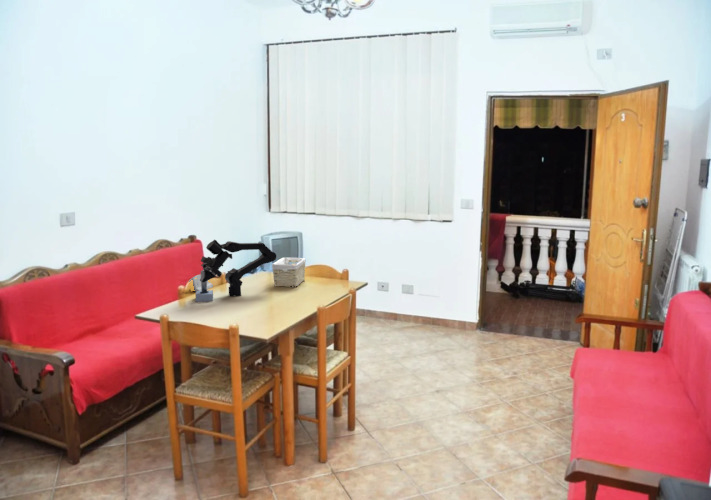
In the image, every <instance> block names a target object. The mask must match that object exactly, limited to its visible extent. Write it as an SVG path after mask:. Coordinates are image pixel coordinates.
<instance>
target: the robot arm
mask: <svg viewBox="0 0 711 500" xmlns="http://www.w3.org/2000/svg"><path fill="white" fill-rule="evenodd" d="M206 250H208V251H209V252H210V253H211V254H212V255H216V256H215V257H210V256H207V257H206V256H202V257H201V259H200V262H201V263H202V264H201V265H200V266H201V267H202V270H206V275H205V277H204V278H203V280H202V282H206V281H208V280H209V281H210V280H212V279H214V278H217V277H218V278H220V277H221V276H223V275H222V272H221V270H219V269H221V267H223V266H224V264H225V262H226V261H227V260H228V259H230V260H232V259H233V254H232V253H236V252H240V251H255V250H257V251H259V252H260V253H261V254H260V256H259V257H258V258H256V259H253V261H251V262H249V263H247V264H245V265H244V266H242V267H240V268H237V269H236V268H234V267H233V268H231V269H230V270H227V272H226V273H225V276H224V279H225V280H226V282H227V283H228V285H229V287H228V295H229V297H240V296H241V297H242V289H241V288H242V285H243V281H242V280H241V279H242V277H244V276H245V275H247V274H249V273H250V272H252V271H254V270H255V269H257V268H259V267H261V266H262V265H265V264H270V263H272V262H275V261H276V260H277V254H276V253H275V252H274V251H272V250H271V249H270V248H269V247H268V246H267V245H266V244H265V243H264V242H260V241H259V242H235V241H229V240H228V241H226V242H225V243H222V244H220V242H218V241H217V240H216V239H213V240H212V241H211V242H209V243H208V244H207V245H206ZM200 281H201V279H200Z"/></svg>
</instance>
